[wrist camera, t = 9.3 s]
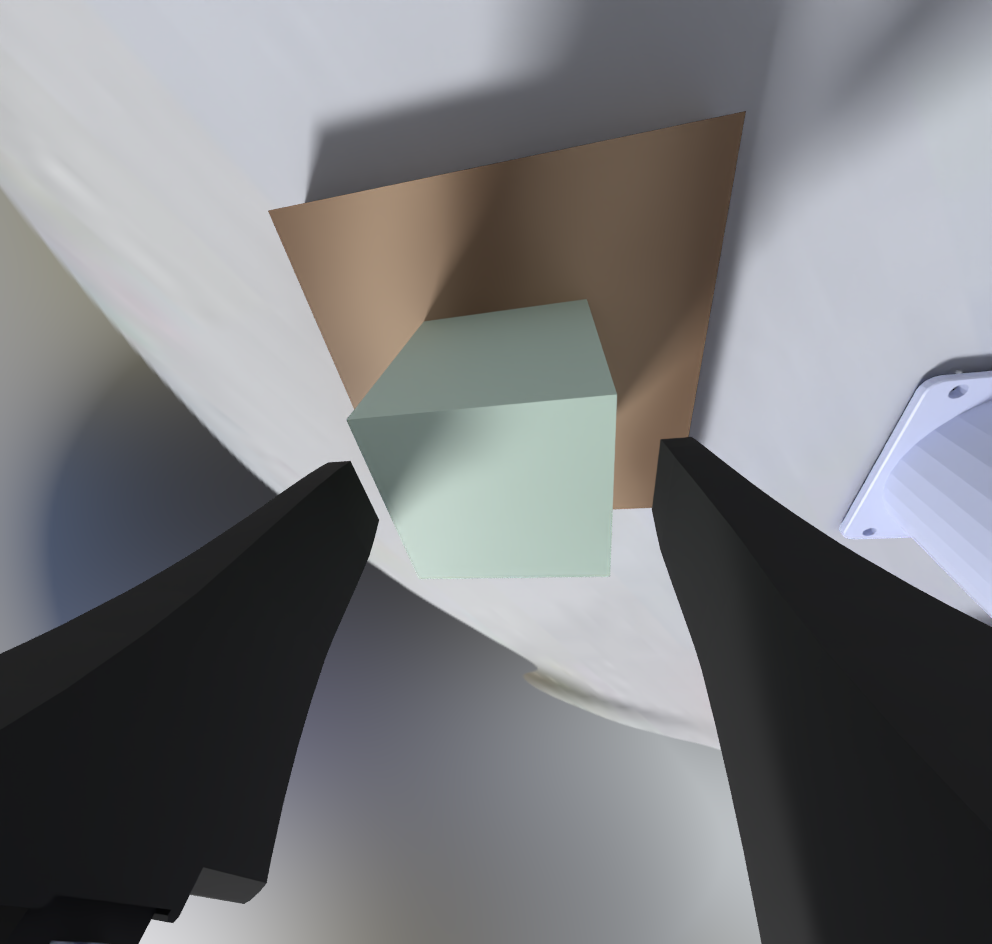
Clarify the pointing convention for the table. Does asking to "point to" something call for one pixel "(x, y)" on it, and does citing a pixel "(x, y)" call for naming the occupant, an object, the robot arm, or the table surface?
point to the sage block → (497, 444)
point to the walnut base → (539, 265)
